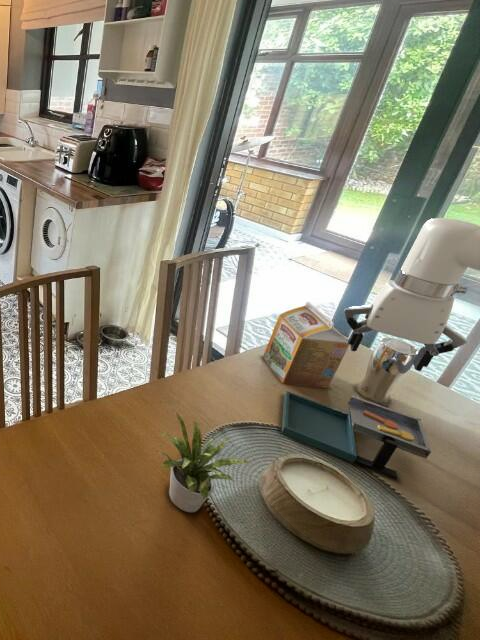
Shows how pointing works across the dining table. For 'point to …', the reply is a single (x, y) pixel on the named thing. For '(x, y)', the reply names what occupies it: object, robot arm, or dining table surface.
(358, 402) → the key dish
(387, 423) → the copper key
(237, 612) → the dining table surface
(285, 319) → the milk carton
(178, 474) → the house plant
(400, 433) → the brass key
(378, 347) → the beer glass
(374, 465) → the dish cradle
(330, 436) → the tray
